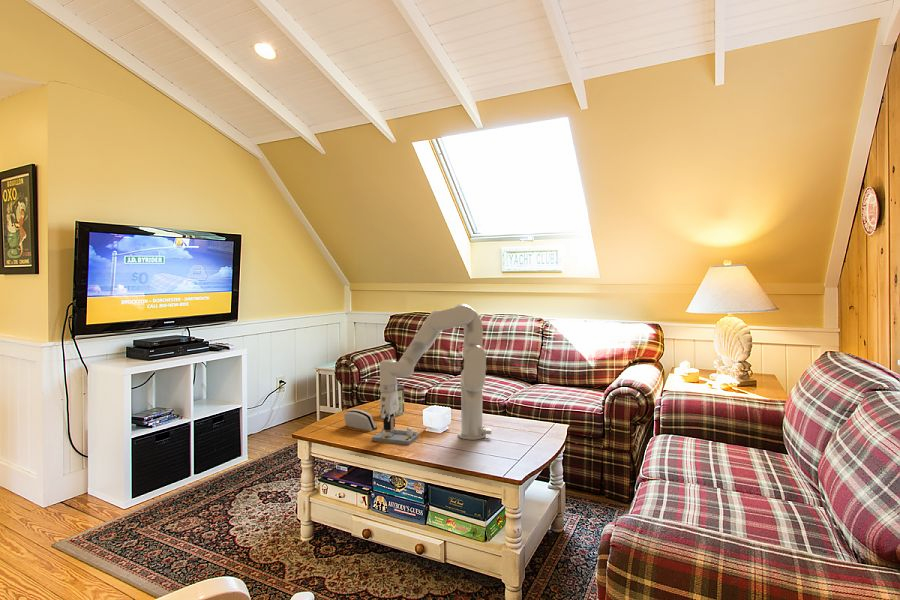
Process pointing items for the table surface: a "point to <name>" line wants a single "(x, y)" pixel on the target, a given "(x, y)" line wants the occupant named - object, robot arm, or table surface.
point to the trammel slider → (389, 432)
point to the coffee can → (400, 400)
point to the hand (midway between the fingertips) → (389, 428)
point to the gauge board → (398, 437)
